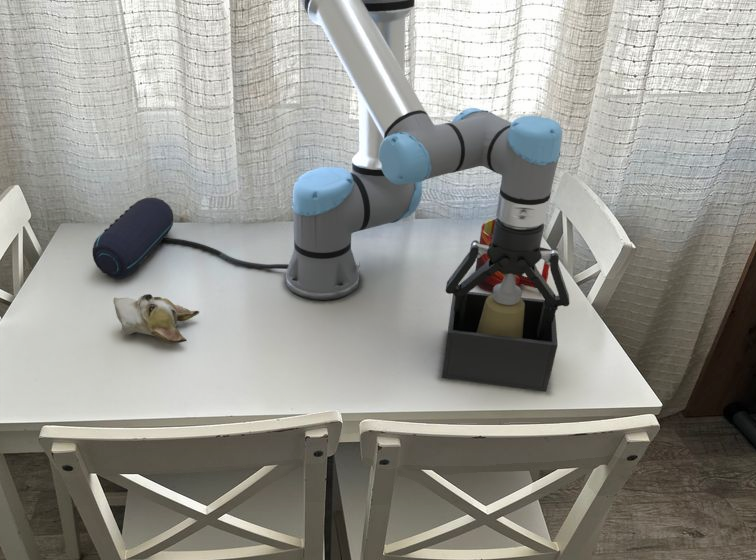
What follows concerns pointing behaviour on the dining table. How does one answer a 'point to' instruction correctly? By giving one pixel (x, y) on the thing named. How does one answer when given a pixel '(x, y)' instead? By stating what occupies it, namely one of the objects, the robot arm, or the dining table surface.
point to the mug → (498, 277)
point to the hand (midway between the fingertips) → (499, 331)
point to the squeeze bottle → (503, 310)
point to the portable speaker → (132, 237)
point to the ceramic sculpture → (152, 317)
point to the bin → (499, 349)
